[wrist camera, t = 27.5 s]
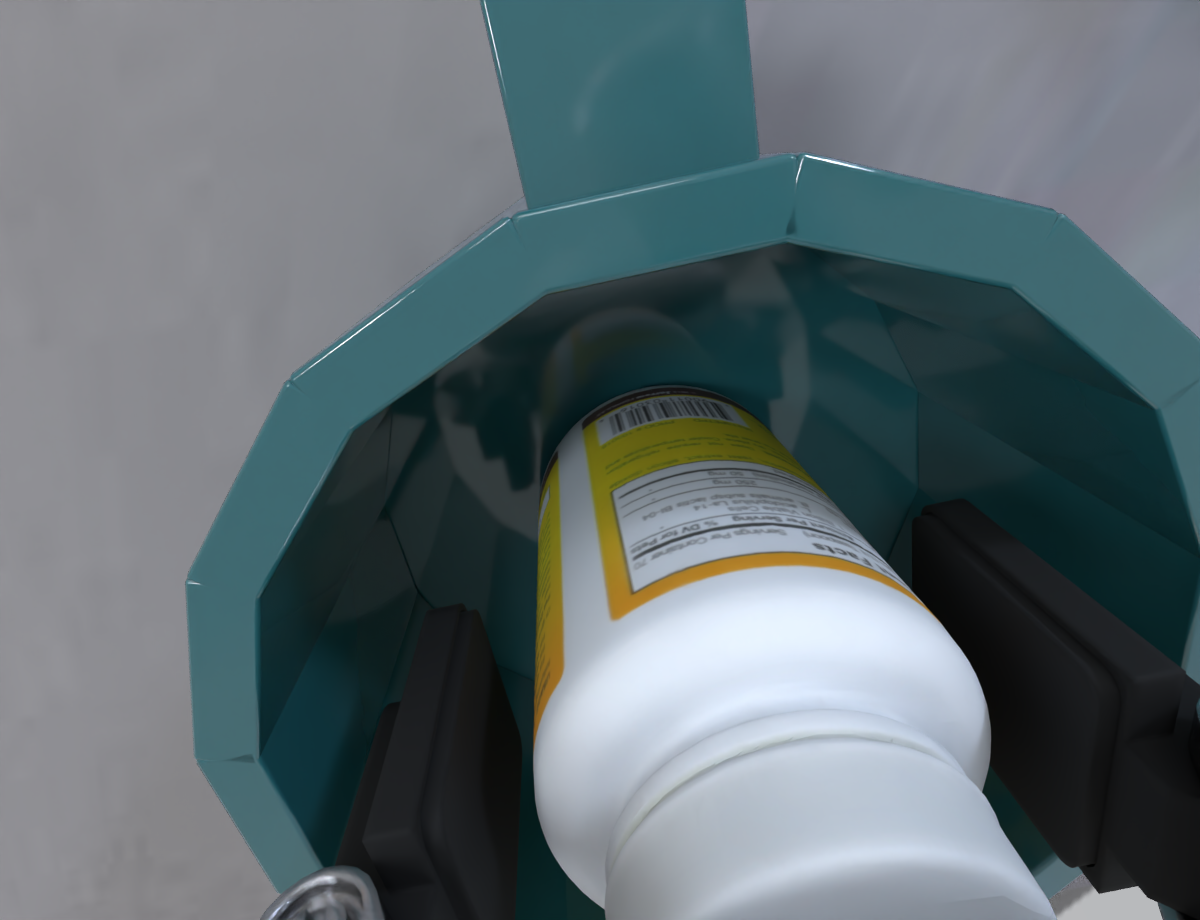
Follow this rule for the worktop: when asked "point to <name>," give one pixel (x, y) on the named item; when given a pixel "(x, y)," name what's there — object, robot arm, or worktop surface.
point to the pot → (672, 357)
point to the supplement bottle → (747, 690)
